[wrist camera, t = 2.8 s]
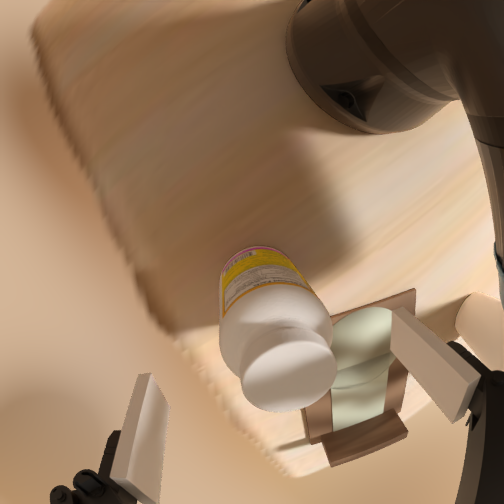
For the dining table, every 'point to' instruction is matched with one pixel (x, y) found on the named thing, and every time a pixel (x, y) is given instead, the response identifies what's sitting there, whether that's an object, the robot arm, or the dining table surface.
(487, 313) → the foam cup
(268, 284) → the supplement bottle
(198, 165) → the dining table surface
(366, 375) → the keyhole board
